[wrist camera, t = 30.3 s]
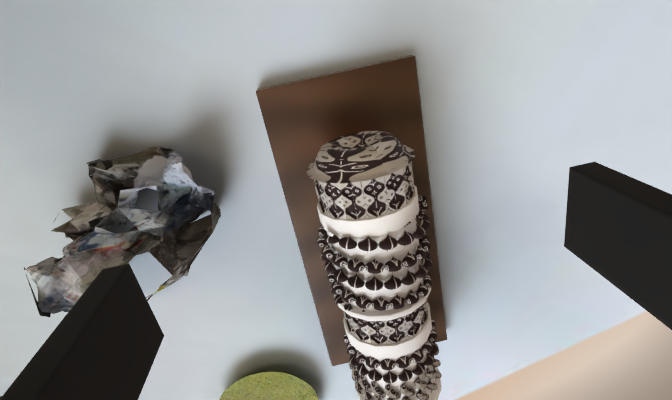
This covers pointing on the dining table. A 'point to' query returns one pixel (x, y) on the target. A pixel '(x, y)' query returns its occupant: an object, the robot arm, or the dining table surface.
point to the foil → (148, 236)
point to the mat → (270, 388)
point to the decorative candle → (378, 263)
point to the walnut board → (332, 122)
